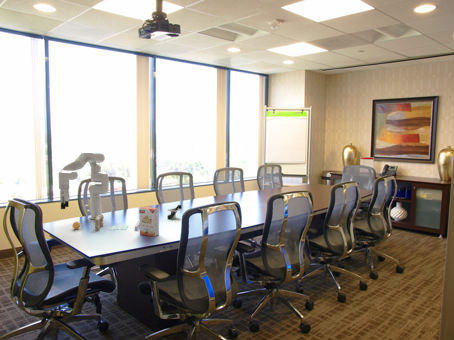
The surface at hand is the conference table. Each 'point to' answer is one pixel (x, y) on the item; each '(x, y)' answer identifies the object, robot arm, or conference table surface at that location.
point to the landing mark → (119, 227)
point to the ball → (76, 225)
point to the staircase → (174, 212)
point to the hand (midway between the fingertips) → (64, 208)
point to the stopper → (137, 225)
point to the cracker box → (149, 221)
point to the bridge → (98, 222)
